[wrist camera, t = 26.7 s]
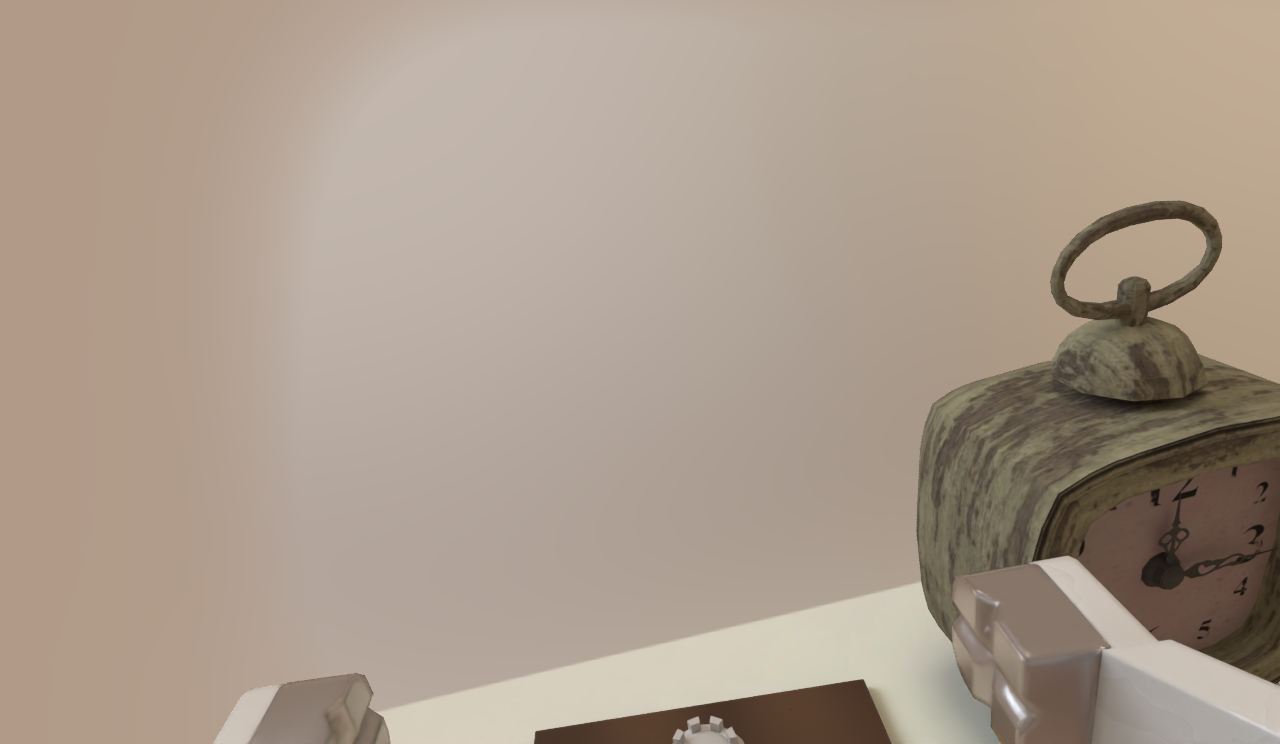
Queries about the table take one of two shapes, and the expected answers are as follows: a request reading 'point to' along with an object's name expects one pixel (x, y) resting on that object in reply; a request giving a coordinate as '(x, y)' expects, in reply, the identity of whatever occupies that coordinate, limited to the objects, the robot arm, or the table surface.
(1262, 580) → the tabletop clock
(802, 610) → the table surface
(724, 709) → the brown flat square panel
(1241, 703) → the robot arm
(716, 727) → the rook chess piece
